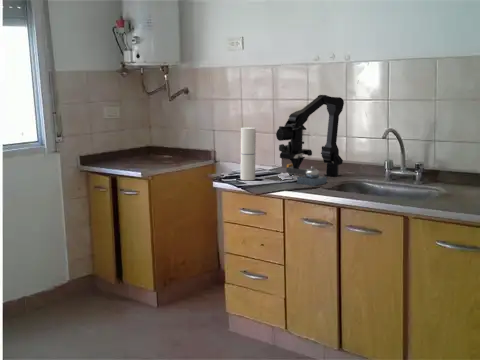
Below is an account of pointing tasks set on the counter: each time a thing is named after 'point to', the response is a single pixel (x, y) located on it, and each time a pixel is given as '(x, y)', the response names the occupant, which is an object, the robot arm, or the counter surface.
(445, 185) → the counter surface
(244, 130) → the cylindrical container
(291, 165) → the chuck key
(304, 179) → the chuck base
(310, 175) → the chuck collar
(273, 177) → the rubber pad
